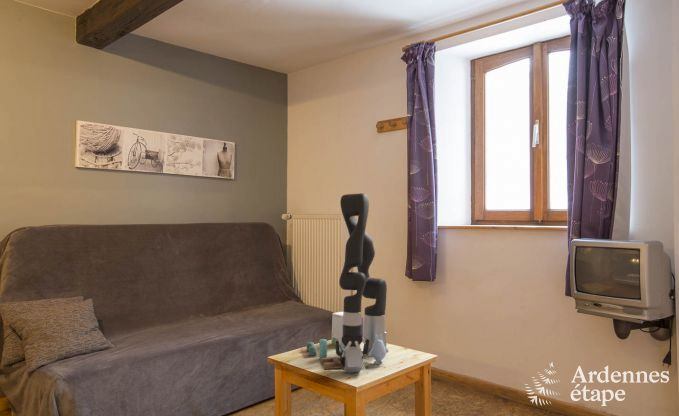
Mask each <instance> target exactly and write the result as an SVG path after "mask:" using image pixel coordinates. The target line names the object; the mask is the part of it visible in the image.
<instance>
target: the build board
mask: <svg viewBox="0 0 679 416" xmlns="http://www.w3.org/2000/svg"><path fill="white" fill-rule="evenodd" d="M339 348H340V352H341V351H342V347H341V344H340V346H339ZM320 362H321V364H322V366H323V367H324V368H323V370H324V371H337V370H344V367H343V366H342V365H341V356H333V357H331V356H330V357H327V358H321V360H320Z"/></svg>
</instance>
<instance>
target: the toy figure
mask: <svg viewBox="0 0 679 416" xmlns="http://www.w3.org/2000/svg"><path fill="white" fill-rule="evenodd" d="M381 339H382V334H380V337H379V339H378V336H377V335H376V336H375V342H374V344H373V346H372V349H371V351H370V352H369V354H367V355H368V357H371V356H372V358H373V359H374V360H375V361H373V364H374V365H378V364H382V363H383V360H384V358H385V357H386V355H387V354H388V353H389V349H388V347H387V346H386V347H385V346H384V344H383V342H382V340H381Z"/></svg>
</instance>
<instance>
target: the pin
mask: <svg viewBox="0 0 679 416" xmlns="http://www.w3.org/2000/svg"><path fill="white" fill-rule="evenodd" d="M318 346H319V347H318V350H319V357H318V358H319V360H320V361H321V358H328V339H326V338H324V339H323V338H322V339H319V345H318Z"/></svg>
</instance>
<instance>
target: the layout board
mask: <svg viewBox="0 0 679 416" xmlns="http://www.w3.org/2000/svg"><path fill="white" fill-rule="evenodd" d="M314 344H315V343H314V342H313V341H307V342H306V348H304V349H303V348H301V349H299V350H300V352H301V354H302V356H303V358H304V359H311V358H312V359H314V358H315V359H316V358H319V347H317V346H315V345H314Z"/></svg>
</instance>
